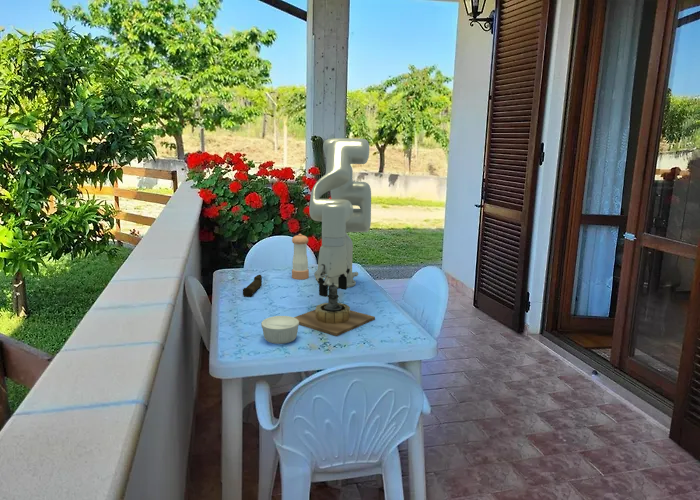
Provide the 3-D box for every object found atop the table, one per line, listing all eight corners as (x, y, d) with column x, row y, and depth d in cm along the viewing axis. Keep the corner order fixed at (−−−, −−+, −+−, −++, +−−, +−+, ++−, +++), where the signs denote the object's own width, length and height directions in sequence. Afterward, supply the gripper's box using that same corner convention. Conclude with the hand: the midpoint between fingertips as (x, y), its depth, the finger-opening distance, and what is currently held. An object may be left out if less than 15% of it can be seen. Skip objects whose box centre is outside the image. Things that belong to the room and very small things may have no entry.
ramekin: (266, 348, 148) (266, 330, 147) (257, 334, 158) (257, 318, 157) (304, 342, 152) (304, 325, 151) (292, 329, 162) (292, 313, 161)
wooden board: (329, 307, 185) (329, 304, 184) (374, 319, 173) (375, 316, 172) (289, 321, 169) (289, 318, 169) (336, 336, 157) (336, 333, 157)
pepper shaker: (299, 274, 229) (299, 231, 225) (312, 277, 225) (312, 233, 221) (288, 277, 223) (287, 234, 219) (301, 280, 219) (300, 236, 215)
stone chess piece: (323, 314, 174) (323, 280, 171) (341, 314, 174) (341, 279, 172) (324, 320, 168) (324, 284, 165) (342, 320, 168) (342, 284, 166)
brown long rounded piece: (252, 298, 195) (252, 286, 194) (242, 297, 195) (242, 285, 194) (267, 284, 213) (267, 273, 212) (258, 284, 214) (257, 273, 213)
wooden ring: (330, 310, 178) (330, 300, 177) (356, 317, 172) (356, 307, 171) (309, 318, 170) (309, 308, 169) (334, 326, 163) (335, 315, 162)
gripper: (341, 235, 174) (340, 284, 178) (306, 244, 161) (306, 296, 165) (359, 238, 170) (358, 288, 174) (324, 247, 157) (324, 301, 161)
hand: (333, 292), depth 169 cm, fingers open, 9 cm apart
